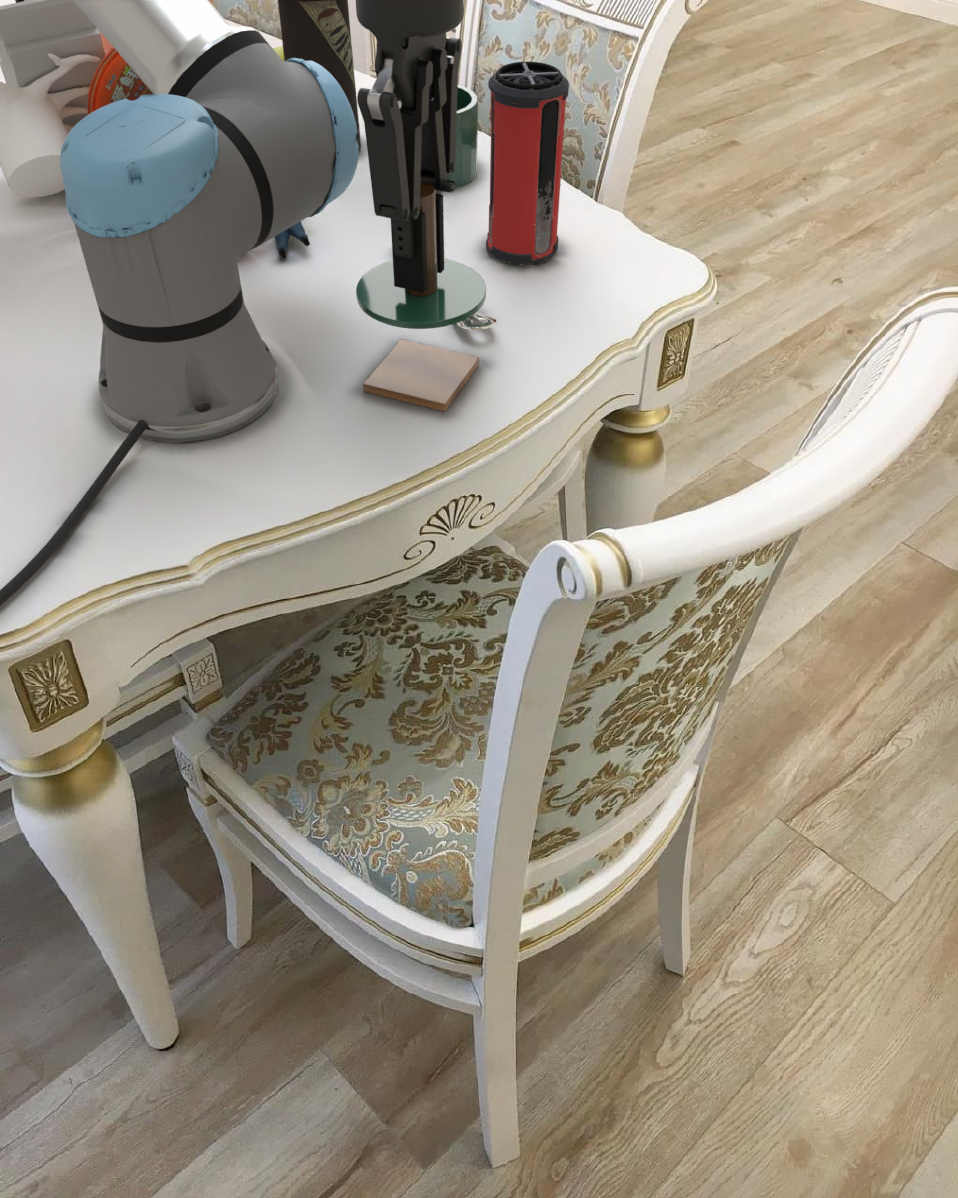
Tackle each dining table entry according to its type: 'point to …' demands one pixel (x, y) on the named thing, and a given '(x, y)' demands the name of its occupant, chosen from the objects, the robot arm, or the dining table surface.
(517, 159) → the speaker
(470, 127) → the green round cylinder
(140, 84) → the food container
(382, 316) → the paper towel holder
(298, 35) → the container
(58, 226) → the dining table surface
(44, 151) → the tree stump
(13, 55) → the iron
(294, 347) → the dining table surface
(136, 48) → the robot arm
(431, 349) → the plate
